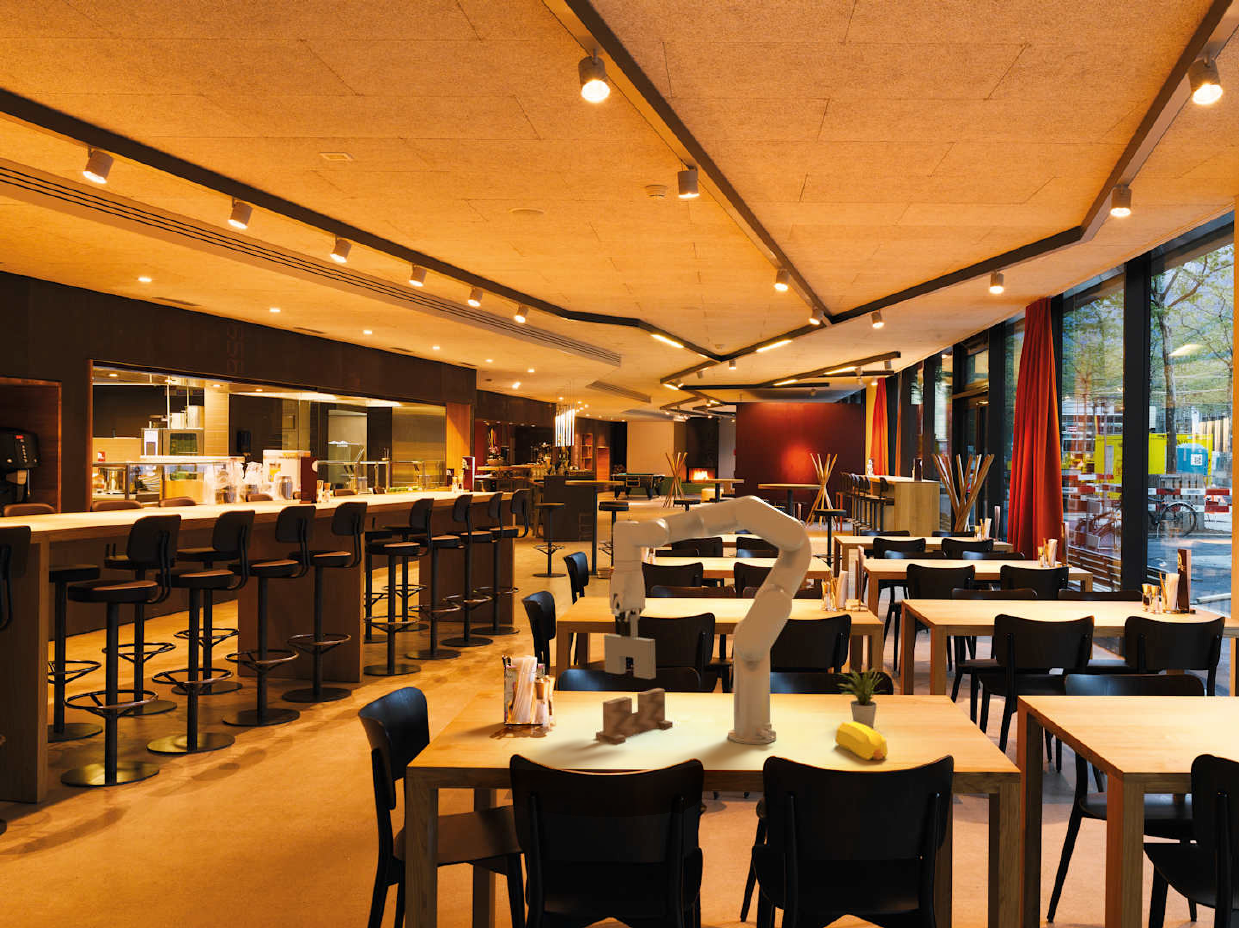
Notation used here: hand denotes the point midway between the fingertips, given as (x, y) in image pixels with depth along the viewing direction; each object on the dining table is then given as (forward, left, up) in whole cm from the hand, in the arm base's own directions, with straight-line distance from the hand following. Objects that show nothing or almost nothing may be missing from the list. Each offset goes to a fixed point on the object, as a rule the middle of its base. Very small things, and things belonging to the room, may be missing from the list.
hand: (629, 634), depth 256 cm
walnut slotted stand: (+1, -2, -27) cm, 27 cm away
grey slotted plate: (0, 0, -11) cm, 11 cm away
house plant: (-21, -62, -27) cm, 71 cm away
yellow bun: (-41, -44, -27) cm, 66 cm away
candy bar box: (+24, +21, -27) cm, 42 cm away
